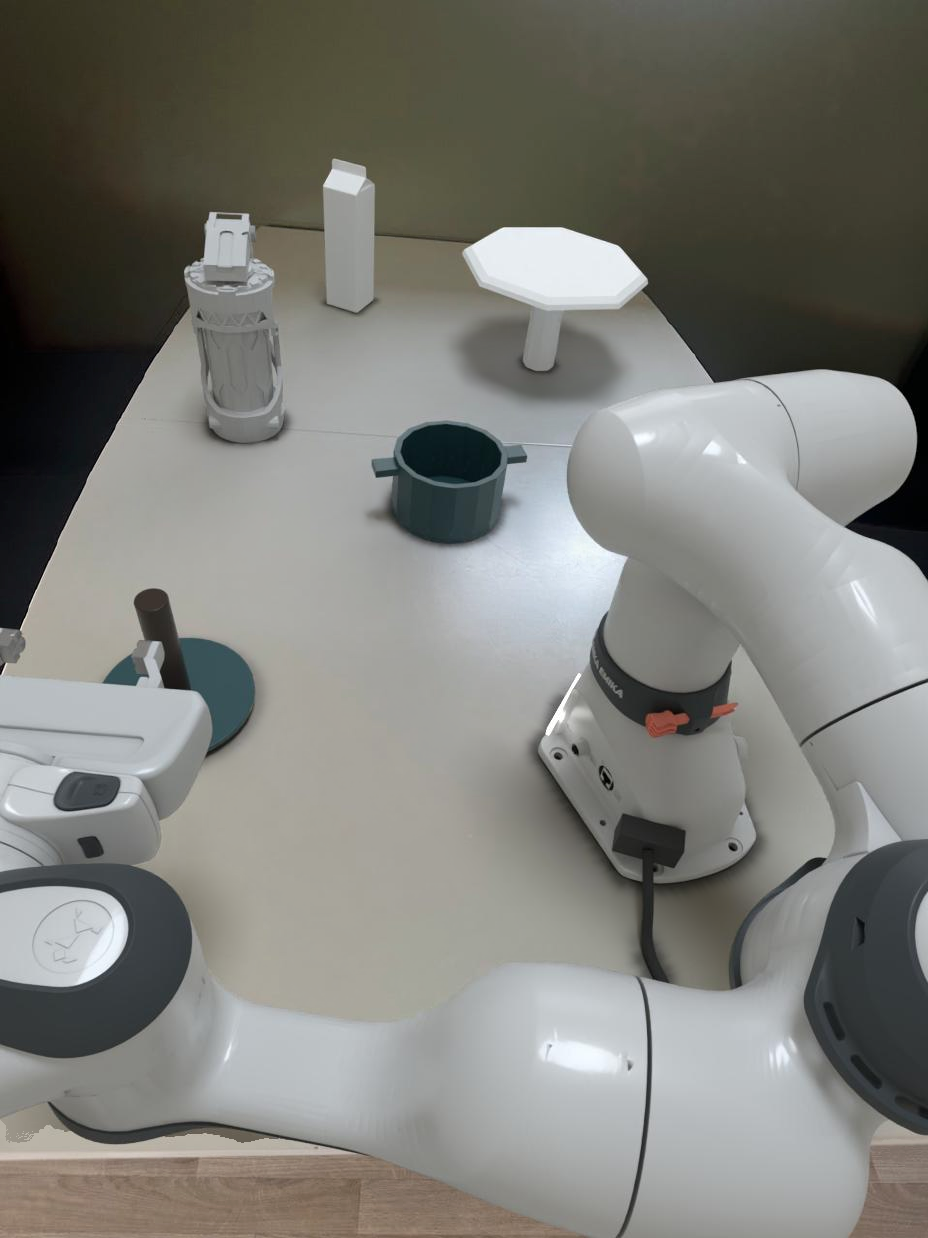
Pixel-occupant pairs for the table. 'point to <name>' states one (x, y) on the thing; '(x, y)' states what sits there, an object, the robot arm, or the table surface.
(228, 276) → the lantern
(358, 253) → the milk
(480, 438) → the pot
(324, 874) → the table surface
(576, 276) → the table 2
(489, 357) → the table surface
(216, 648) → the lid
